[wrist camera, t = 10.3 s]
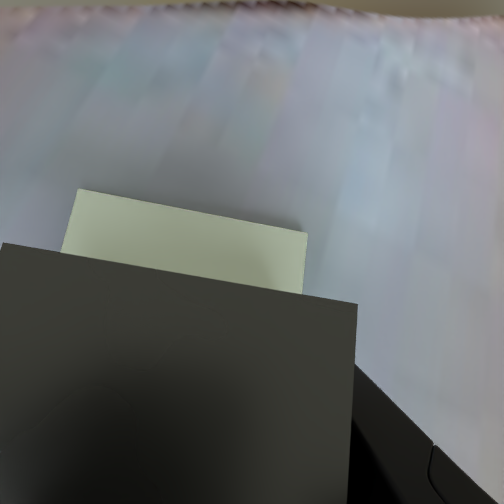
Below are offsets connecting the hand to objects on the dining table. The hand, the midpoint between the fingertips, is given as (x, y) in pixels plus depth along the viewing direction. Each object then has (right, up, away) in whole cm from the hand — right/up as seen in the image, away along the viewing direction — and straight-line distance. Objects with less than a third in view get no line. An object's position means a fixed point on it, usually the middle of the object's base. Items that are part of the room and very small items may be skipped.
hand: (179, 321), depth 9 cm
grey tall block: (-2, -4, +6) cm, 7 cm away
